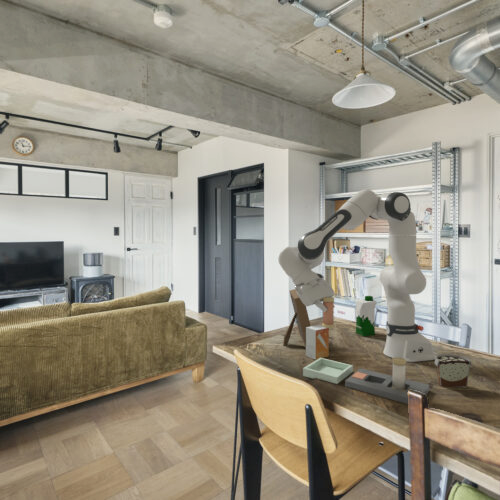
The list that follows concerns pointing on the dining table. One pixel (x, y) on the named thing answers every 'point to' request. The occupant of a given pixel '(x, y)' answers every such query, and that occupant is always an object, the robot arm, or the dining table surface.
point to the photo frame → (298, 318)
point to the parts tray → (327, 370)
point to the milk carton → (365, 316)
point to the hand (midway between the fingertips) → (329, 309)
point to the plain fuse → (398, 373)
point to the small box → (317, 342)
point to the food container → (452, 370)
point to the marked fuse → (328, 312)
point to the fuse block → (382, 385)
